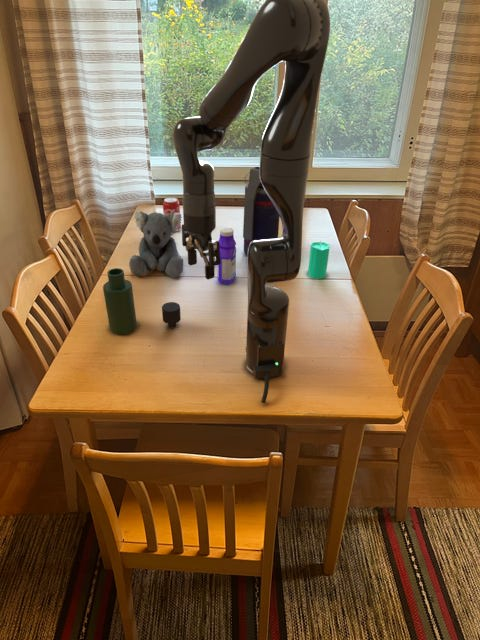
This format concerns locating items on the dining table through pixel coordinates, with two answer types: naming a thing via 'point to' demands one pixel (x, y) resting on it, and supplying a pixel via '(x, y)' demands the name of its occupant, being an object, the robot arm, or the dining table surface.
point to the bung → (171, 314)
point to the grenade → (258, 212)
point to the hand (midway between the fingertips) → (201, 271)
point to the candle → (318, 260)
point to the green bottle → (119, 303)
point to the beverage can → (171, 207)
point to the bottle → (227, 257)
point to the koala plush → (157, 245)
